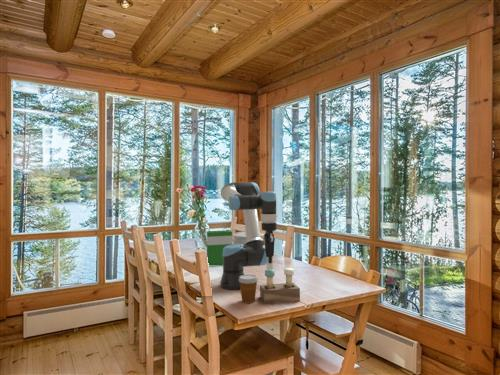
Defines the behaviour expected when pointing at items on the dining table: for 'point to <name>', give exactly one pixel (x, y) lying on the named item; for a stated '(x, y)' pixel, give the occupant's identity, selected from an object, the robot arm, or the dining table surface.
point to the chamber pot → (242, 237)
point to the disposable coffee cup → (248, 287)
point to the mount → (279, 293)
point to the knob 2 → (288, 276)
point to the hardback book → (217, 245)
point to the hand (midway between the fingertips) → (269, 269)
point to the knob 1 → (269, 278)
